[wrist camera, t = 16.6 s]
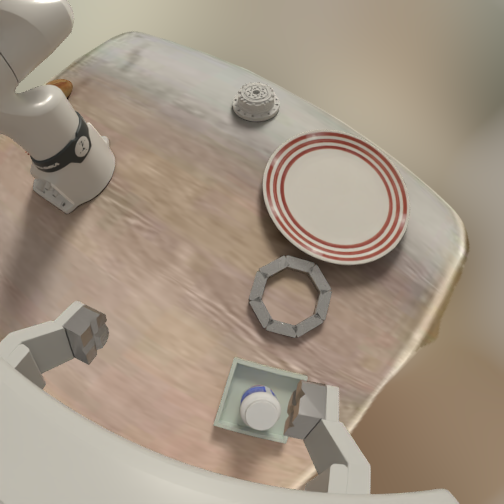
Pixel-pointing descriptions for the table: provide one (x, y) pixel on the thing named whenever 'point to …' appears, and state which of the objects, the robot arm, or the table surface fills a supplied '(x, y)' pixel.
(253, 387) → the pill bottle
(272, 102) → the mechanical component
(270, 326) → the collar
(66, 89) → the bread roll
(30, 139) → the robot arm
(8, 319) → the table surface
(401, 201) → the dinner plate
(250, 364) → the bin
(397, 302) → the table surface
